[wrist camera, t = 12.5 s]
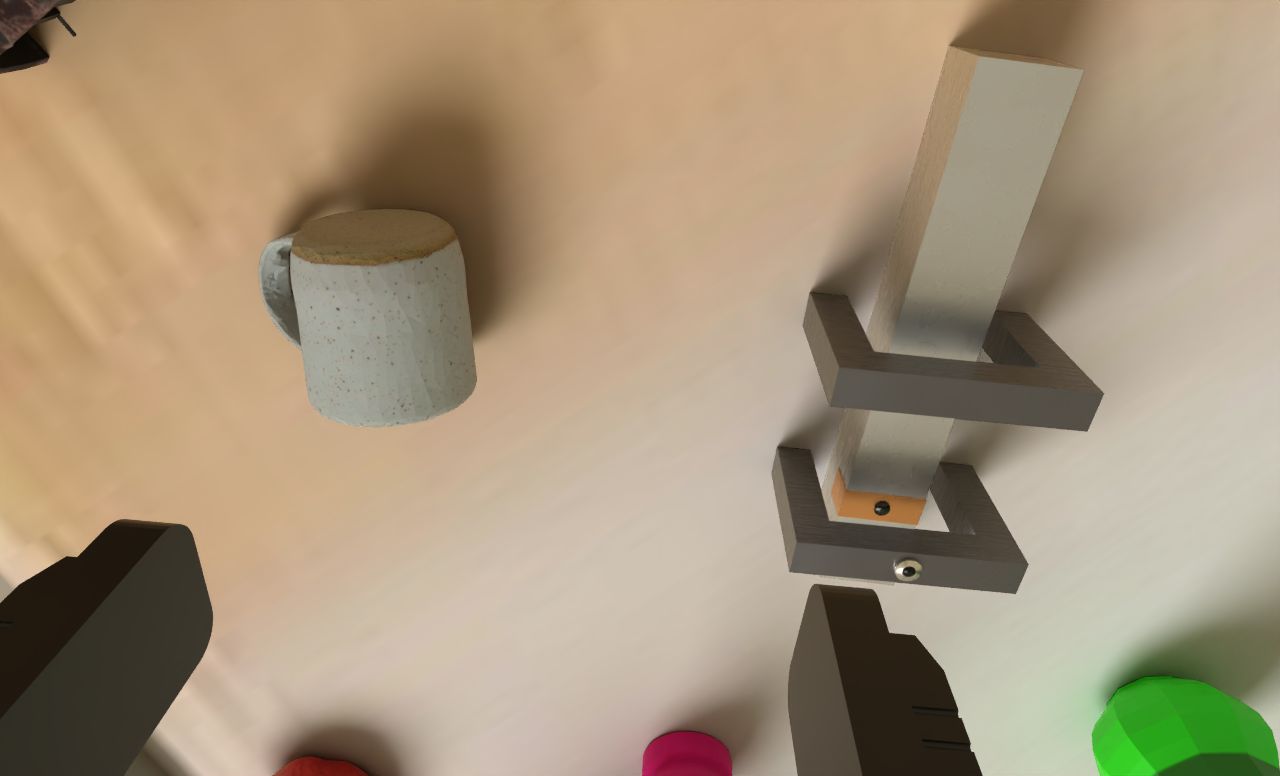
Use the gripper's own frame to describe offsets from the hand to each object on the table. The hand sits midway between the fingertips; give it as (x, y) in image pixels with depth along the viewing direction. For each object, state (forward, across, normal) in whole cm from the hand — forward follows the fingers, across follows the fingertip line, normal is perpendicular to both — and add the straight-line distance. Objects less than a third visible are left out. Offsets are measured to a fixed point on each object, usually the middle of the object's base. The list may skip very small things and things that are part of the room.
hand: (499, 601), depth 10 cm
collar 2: (+28, -15, +16) cm, 35 cm away
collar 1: (+28, -15, +7) cm, 32 cm away
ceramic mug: (+28, +11, +8) cm, 32 cm away
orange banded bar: (+28, -15, +8) cm, 33 cm away
